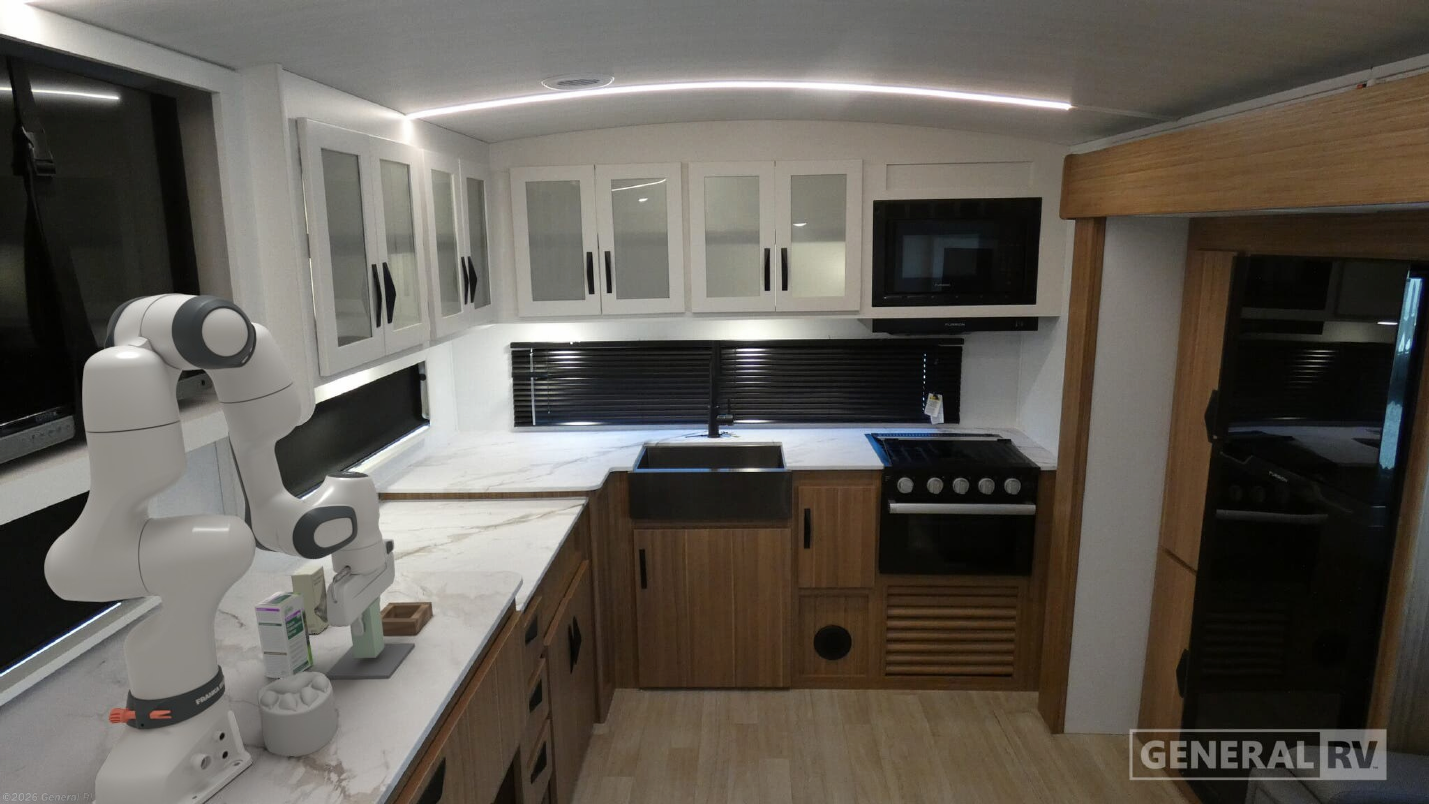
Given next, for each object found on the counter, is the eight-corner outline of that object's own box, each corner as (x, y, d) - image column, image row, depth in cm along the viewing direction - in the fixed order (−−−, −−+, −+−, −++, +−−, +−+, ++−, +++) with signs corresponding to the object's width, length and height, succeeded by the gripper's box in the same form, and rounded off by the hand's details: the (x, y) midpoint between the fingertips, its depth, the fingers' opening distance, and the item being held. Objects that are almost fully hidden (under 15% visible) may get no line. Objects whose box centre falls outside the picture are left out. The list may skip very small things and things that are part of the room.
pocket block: (416, 635, 166) (414, 621, 165) (372, 635, 166) (370, 622, 165) (432, 615, 174) (431, 601, 174) (390, 615, 175) (389, 602, 174)
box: (319, 634, 167) (311, 574, 165) (297, 635, 167) (289, 575, 165) (331, 622, 172) (324, 564, 170) (310, 623, 173) (303, 565, 170)
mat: (389, 678, 149) (388, 675, 149) (323, 679, 150) (323, 676, 150) (415, 646, 161) (414, 643, 161) (354, 646, 162) (354, 644, 161)
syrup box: (292, 680, 150) (282, 605, 147) (264, 677, 151) (253, 603, 148) (313, 664, 155) (304, 592, 152) (286, 662, 156) (276, 590, 154)
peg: (375, 657, 153) (369, 607, 151) (354, 657, 153) (348, 607, 151) (384, 647, 157) (379, 597, 155) (363, 647, 157) (358, 598, 155)
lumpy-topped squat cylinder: (328, 705, 141) (321, 659, 139) (345, 741, 131) (339, 691, 129) (259, 728, 135) (252, 679, 133) (272, 767, 125) (264, 714, 123)
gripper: (348, 579, 141) (357, 654, 144) (397, 537, 161) (405, 603, 164) (312, 579, 141) (322, 654, 144) (365, 537, 161) (373, 603, 164)
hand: (366, 627), depth 154 cm, fingers closed on peg, 4 cm apart
